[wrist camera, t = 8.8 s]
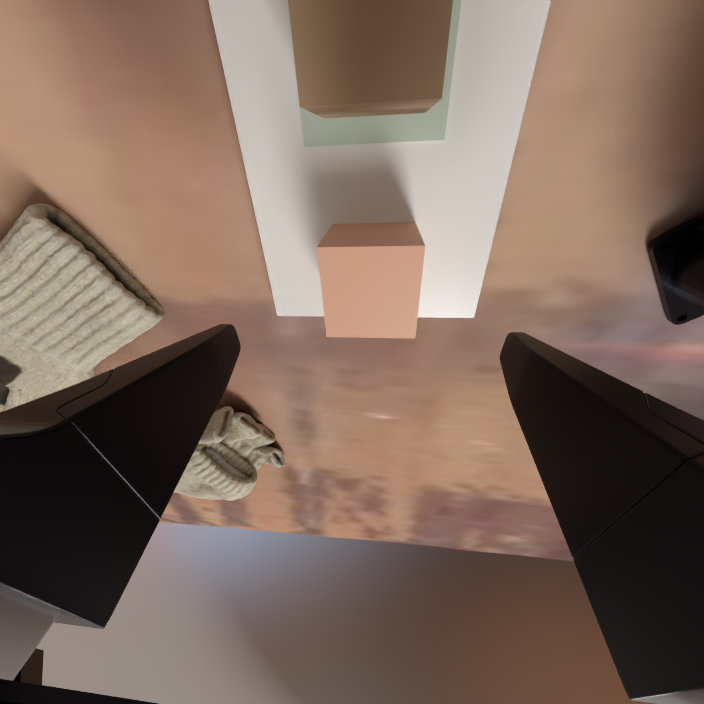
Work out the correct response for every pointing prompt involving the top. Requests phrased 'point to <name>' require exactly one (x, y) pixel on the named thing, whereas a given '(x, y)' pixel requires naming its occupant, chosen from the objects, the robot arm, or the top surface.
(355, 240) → the terracotta block
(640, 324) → the top surface
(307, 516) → the top surface
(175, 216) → the top surface
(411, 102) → the walnut block
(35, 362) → the pair of gloves
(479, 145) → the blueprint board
